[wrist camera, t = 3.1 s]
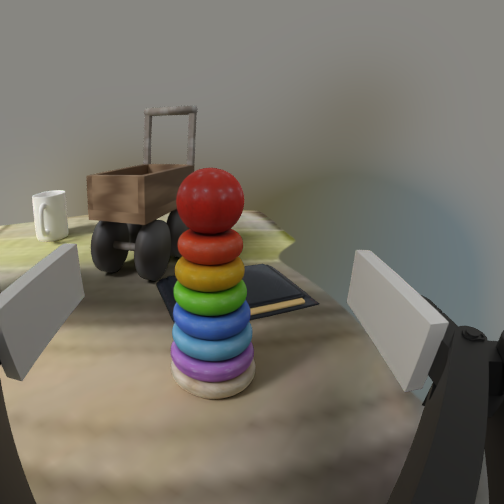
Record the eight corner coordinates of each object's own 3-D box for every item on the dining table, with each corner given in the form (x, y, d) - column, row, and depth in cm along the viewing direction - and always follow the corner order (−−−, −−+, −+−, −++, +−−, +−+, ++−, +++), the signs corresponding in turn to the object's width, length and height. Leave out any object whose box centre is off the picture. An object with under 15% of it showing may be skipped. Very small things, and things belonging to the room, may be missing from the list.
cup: (71, 230, 68) (68, 189, 65) (61, 246, 58) (56, 198, 54) (42, 232, 65) (38, 192, 62) (27, 249, 55) (21, 202, 51)
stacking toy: (260, 355, 32) (276, 168, 25) (246, 410, 24) (261, 178, 18) (188, 343, 33) (185, 162, 27) (159, 391, 26) (139, 172, 19)
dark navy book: (271, 258, 55) (324, 298, 42) (270, 268, 56) (321, 310, 43) (154, 271, 47) (174, 325, 34) (154, 283, 47) (176, 339, 35)
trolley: (93, 279, 45) (85, 101, 36) (148, 242, 63) (149, 108, 54) (147, 290, 44) (144, 93, 34) (194, 248, 61) (197, 106, 52)
